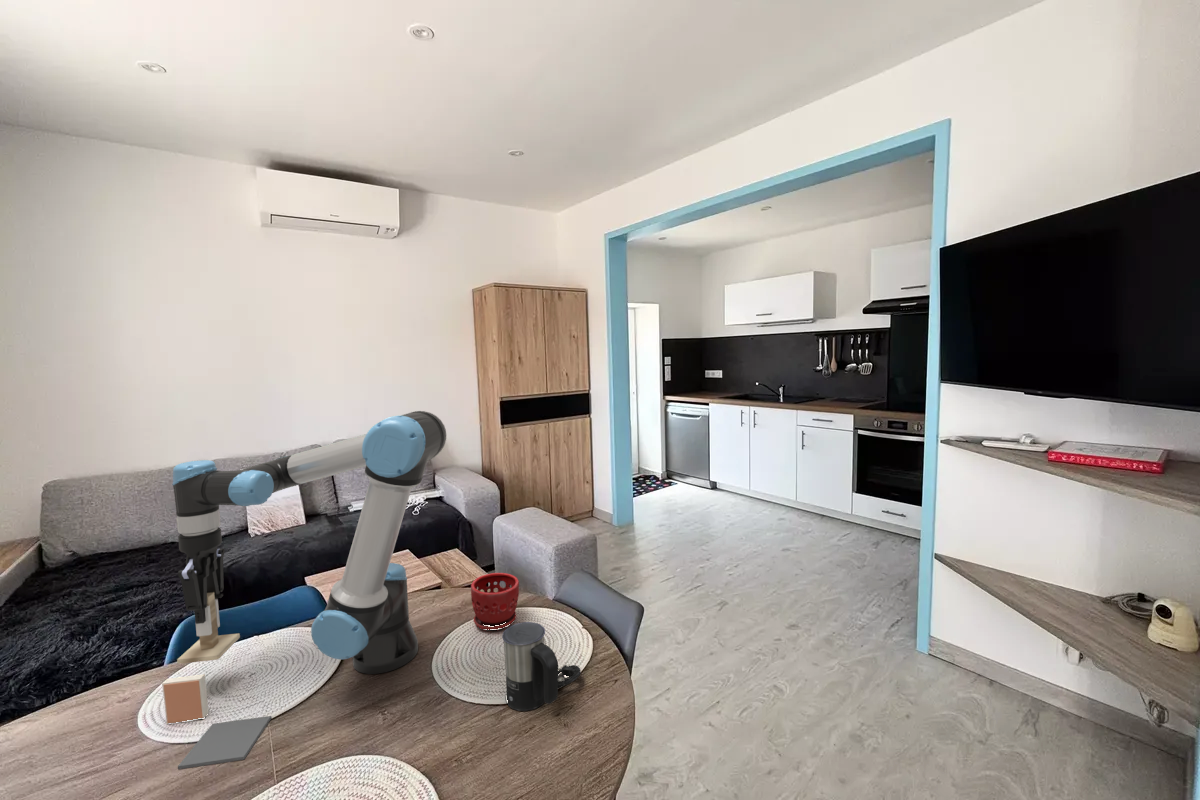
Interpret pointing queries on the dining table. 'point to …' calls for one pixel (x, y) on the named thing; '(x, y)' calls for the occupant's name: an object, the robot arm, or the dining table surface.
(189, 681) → the tile
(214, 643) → the block tower on stand
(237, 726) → the rest mat
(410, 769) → the dining table surface
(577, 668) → the milk frother
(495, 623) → the plant pot
